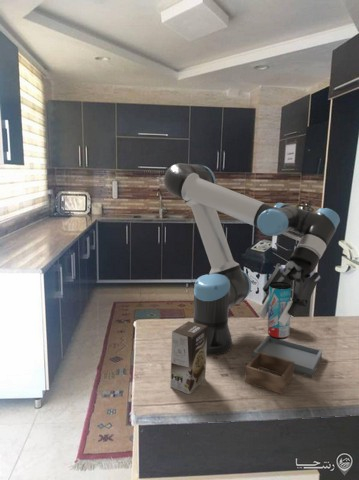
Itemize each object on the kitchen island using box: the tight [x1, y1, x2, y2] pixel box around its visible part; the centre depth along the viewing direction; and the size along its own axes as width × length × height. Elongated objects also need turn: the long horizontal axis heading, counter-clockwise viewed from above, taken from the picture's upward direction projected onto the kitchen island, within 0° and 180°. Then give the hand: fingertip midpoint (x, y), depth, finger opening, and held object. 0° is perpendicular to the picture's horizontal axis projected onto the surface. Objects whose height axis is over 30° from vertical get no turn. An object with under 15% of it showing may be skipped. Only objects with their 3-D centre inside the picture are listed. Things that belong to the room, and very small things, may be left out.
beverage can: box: [267, 282, 292, 340], centre depth 98 cm, size 6×6×15 cm
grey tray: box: [252, 335, 323, 378], centre depth 112 cm, size 18×14×2 cm
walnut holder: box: [244, 352, 295, 395], centre depth 100 cm, size 11×11×4 cm
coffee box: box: [169, 320, 208, 395], centre depth 96 cm, size 9×6×16 cm
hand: (271, 319), depth 97 cm, fingers closed on beverage can, 6 cm apart
